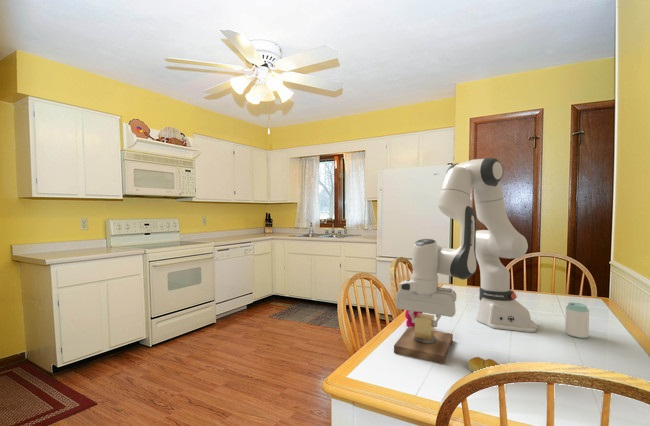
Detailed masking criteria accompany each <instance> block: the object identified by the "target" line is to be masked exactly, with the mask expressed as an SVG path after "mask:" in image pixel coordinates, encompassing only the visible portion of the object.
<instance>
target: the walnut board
mask: <svg viewBox="0 0 650 426" xmlns="http://www.w3.org/2000/svg"><path fill="white" fill-rule="evenodd" d="M453 336H454V335H453V334H452V333H449V332H445V331H444V332H443V331H438V330H434V336H433V338H432V340H426V339H421V338H416V337H415V327H411V326H409V327H407V328H406V329H405V331H404V332H403V334H402V335H401V336H400V337H399V338H398V340H397V341H396V342H395V344H394V345H393V353H394V354H397V355H402V356H406V357H412V358H417V359H421V360H425V361H430V362H434V363H439V364H443V365H444V364H445V361H446V359H447V355H448V354H449V352H450V351H449V350H450V348H451V346H452V344H453V339H454V338H453Z"/></svg>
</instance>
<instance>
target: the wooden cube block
mask: <svg viewBox="0 0 650 426" xmlns="http://www.w3.org/2000/svg"><path fill="white" fill-rule="evenodd" d="M433 320H435V314H429V313H418V314H417V315H416V317H415V337H416V338H421V339H426V340H432V338H433V336H434V331H435V327H433V326H432V325H433V324H432V322H433Z"/></svg>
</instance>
